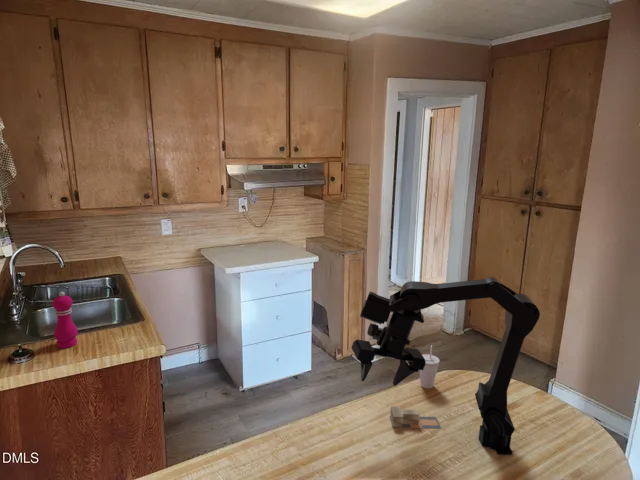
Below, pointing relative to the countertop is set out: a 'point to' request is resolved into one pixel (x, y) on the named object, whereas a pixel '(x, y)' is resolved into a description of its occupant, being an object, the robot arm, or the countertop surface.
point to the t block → (403, 416)
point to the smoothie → (429, 370)
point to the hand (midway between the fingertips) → (378, 382)
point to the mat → (423, 423)
